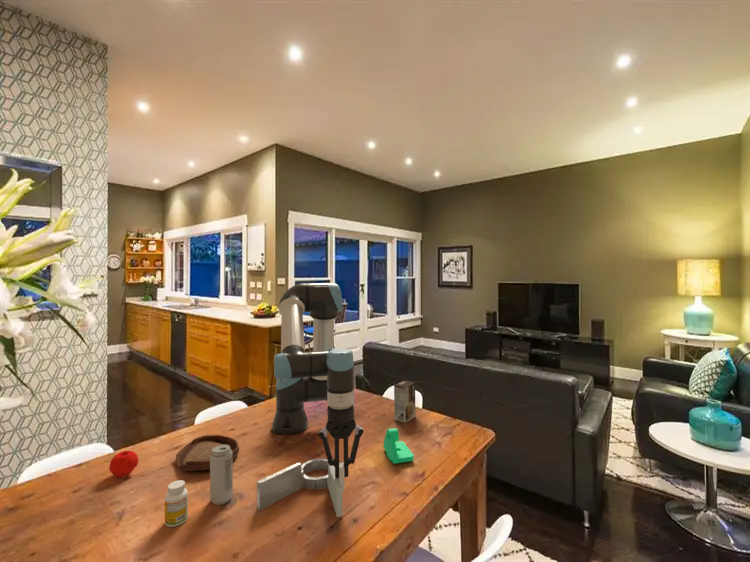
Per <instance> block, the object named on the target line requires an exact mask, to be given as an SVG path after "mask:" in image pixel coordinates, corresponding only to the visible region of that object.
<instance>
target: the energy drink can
mask: <svg viewBox="0 0 750 562" xmlns="http://www.w3.org/2000/svg"><path fill="white" fill-rule="evenodd" d="M233 461H234V460H233V457H232V450H231V449H230V446H229V445H226V444H224V445H218V446H216V447H214V448H213V449H212V453H211V455H210V469H209V479H210V480H209V481H210V482H209V486H210V487H209V489H210V490H209V499H210V502H212V504H213V505H216V506H220V505H225V504H226V503H228V502H230V501H231V498H232V497H233V495H234V492H233V491H234V489H233V488H234V486H233V484H234V479H233V475H234V474H233V473H234V472H233Z"/></svg>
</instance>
